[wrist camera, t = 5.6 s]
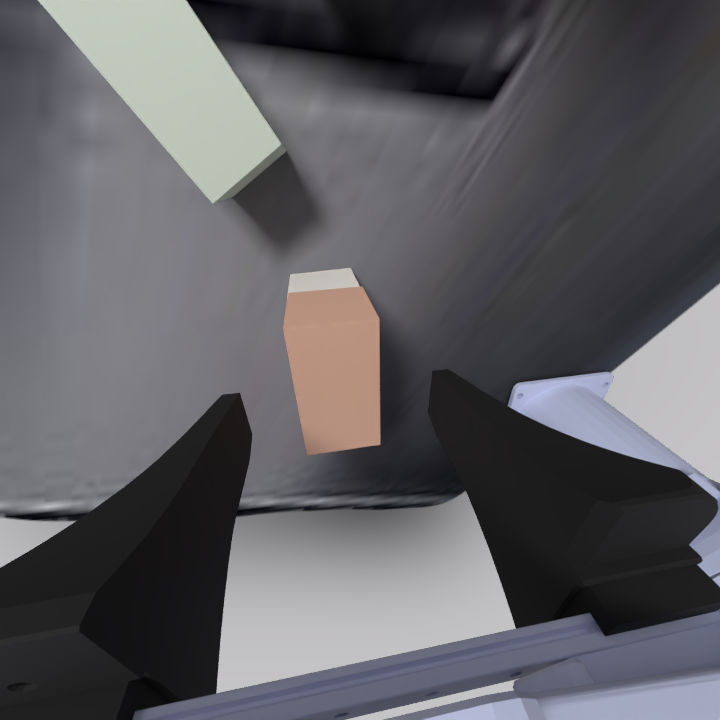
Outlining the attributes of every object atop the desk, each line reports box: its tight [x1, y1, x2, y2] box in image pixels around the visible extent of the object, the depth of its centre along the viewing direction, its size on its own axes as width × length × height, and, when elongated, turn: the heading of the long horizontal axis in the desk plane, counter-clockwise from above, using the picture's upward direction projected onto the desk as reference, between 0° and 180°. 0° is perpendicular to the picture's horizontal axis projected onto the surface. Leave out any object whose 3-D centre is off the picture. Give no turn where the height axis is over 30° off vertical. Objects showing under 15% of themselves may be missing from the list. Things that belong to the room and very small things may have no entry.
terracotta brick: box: [283, 286, 380, 455], centre depth 13 cm, size 6×3×4 cm, turn 2°
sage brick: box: [38, 0, 286, 203], centre depth 11 cm, size 6×3×4 cm, turn 34°
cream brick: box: [287, 268, 360, 298], centre depth 16 cm, size 6×3×4 cm, turn 4°
